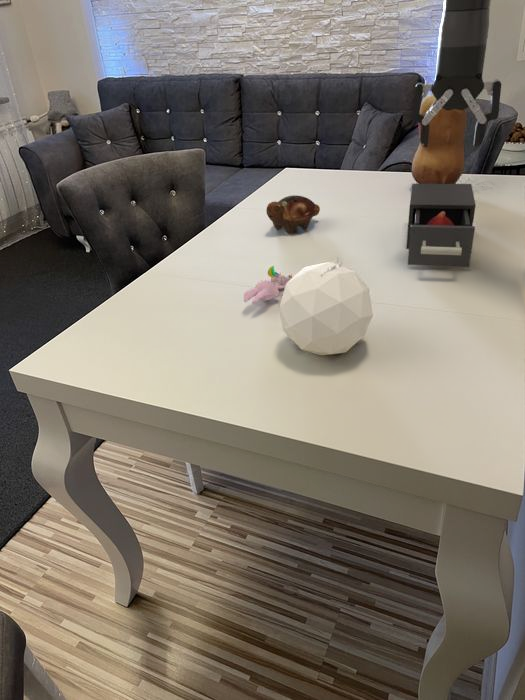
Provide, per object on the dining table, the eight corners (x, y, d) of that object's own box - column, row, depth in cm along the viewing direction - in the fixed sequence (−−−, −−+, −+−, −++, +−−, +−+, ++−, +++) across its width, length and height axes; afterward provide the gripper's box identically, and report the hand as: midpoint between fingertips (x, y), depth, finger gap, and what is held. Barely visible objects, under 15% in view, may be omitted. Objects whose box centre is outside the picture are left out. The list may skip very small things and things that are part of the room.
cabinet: (468, 250, 111) (475, 205, 106) (406, 248, 114) (409, 204, 109) (465, 225, 122) (471, 183, 117) (408, 224, 126) (412, 183, 120)
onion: (421, 255, 106) (425, 216, 101) (423, 244, 110) (426, 206, 106) (452, 257, 104) (457, 217, 100) (452, 245, 109) (457, 207, 104)
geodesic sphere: (302, 278, 92) (282, 233, 79) (386, 287, 87) (379, 240, 74) (281, 360, 87) (256, 326, 74) (368, 374, 82) (358, 340, 70)
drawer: (470, 278, 98) (476, 237, 94) (406, 275, 101) (409, 235, 97) (465, 240, 113) (470, 204, 109) (409, 239, 116) (412, 203, 112)
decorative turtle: (256, 233, 128) (254, 199, 124) (301, 220, 136) (300, 188, 132) (284, 240, 121) (283, 205, 117) (329, 226, 130) (330, 192, 126)
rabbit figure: (271, 285, 106) (233, 308, 94) (271, 256, 104) (232, 276, 92) (300, 290, 104) (264, 314, 92) (301, 260, 101) (264, 281, 89)
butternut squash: (402, 186, 150) (409, 88, 137) (447, 181, 152) (458, 83, 138) (423, 201, 139) (434, 95, 125) (472, 194, 140) (487, 90, 127)
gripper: (416, 47, 86) (408, 151, 95) (512, 41, 83) (494, 150, 91) (417, 43, 92) (410, 141, 101) (506, 38, 89) (490, 140, 97)
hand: (450, 145), depth 96 cm, fingers open, 8 cm apart
